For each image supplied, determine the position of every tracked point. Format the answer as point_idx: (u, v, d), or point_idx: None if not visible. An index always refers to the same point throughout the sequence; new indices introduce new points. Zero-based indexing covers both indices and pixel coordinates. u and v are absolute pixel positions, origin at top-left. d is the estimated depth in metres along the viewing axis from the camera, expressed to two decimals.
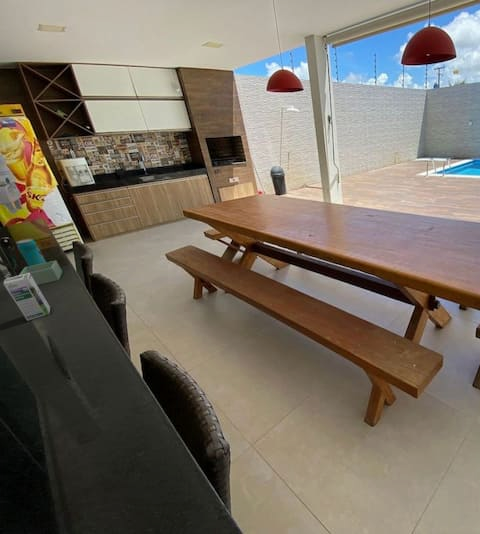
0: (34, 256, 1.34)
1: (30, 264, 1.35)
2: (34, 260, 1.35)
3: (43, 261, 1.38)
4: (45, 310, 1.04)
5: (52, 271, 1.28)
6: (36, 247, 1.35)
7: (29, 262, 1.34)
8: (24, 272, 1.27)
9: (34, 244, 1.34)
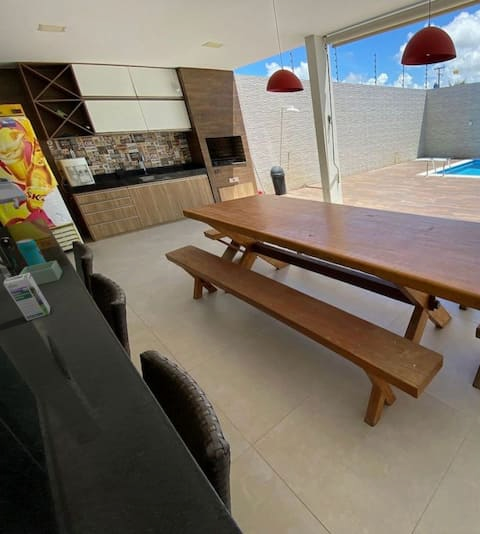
0: (34, 256, 1.34)
1: (30, 264, 1.35)
2: (34, 260, 1.35)
3: (43, 261, 1.38)
4: (45, 310, 1.04)
5: (52, 271, 1.28)
6: (36, 247, 1.35)
7: (29, 262, 1.34)
8: (24, 272, 1.27)
9: (34, 244, 1.34)
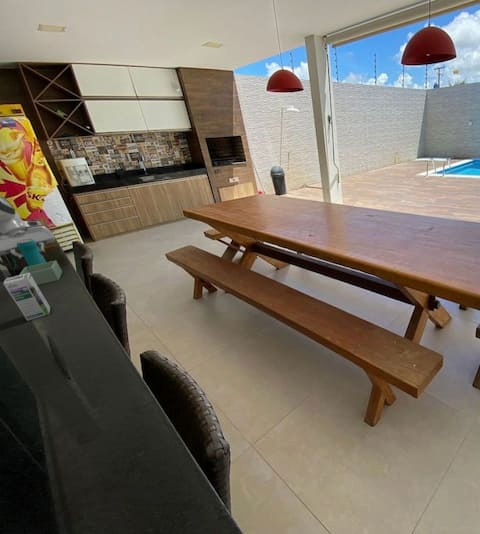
0: (34, 256, 1.35)
1: (30, 264, 1.35)
2: (34, 260, 1.35)
3: (43, 261, 1.38)
4: (45, 310, 1.04)
5: (52, 271, 1.28)
6: (36, 247, 1.35)
7: (29, 262, 1.34)
8: (24, 272, 1.27)
9: (34, 244, 1.34)
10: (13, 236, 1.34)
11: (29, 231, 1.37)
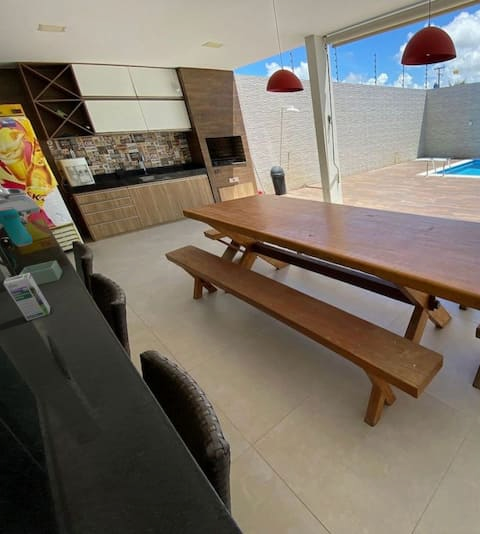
0: (16, 227, 1.21)
1: (11, 235, 1.21)
2: (16, 231, 1.21)
3: (26, 232, 1.24)
4: (45, 310, 1.04)
5: (52, 271, 1.28)
6: (18, 216, 1.22)
7: (10, 233, 1.21)
8: (24, 272, 1.27)
9: (15, 213, 1.21)
10: None
11: (10, 199, 1.24)
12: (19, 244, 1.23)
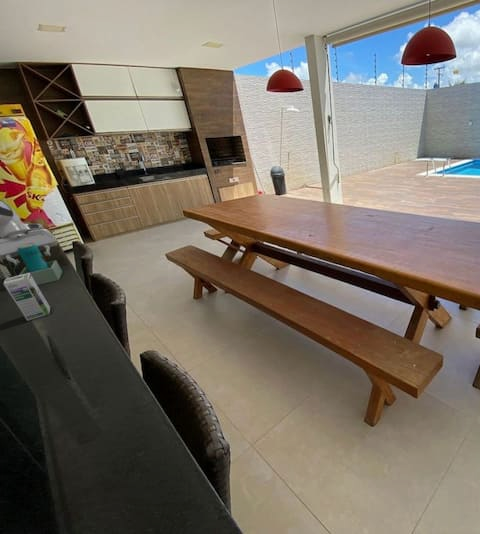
0: (36, 262, 1.26)
1: (32, 270, 1.26)
2: (36, 266, 1.26)
3: (45, 267, 1.29)
4: (45, 310, 1.04)
5: (52, 271, 1.28)
6: (38, 252, 1.27)
7: (31, 268, 1.26)
8: (24, 272, 1.27)
9: (36, 249, 1.26)
10: (13, 240, 1.25)
11: (30, 234, 1.29)
12: None
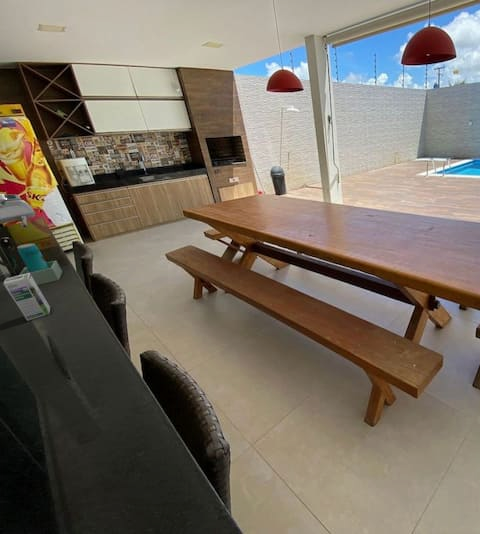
0: (36, 262, 1.26)
1: (32, 270, 1.26)
2: (36, 266, 1.26)
3: (45, 267, 1.29)
4: (45, 310, 1.04)
5: (52, 271, 1.28)
6: (38, 252, 1.27)
7: (31, 268, 1.26)
8: (24, 272, 1.27)
9: (36, 249, 1.26)
10: None
11: (7, 204, 1.30)
12: None
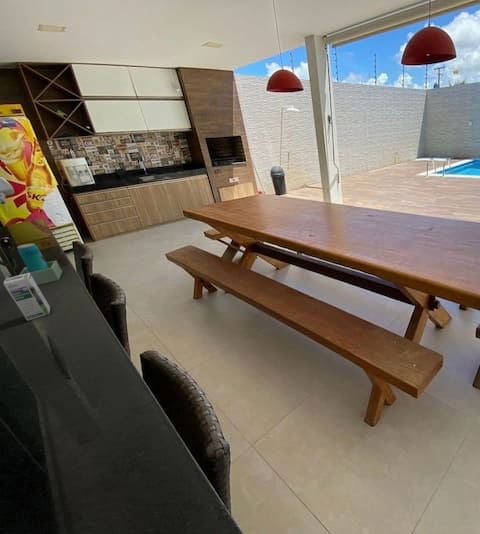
0: (36, 262, 1.26)
1: (32, 270, 1.26)
2: (36, 266, 1.26)
3: (46, 267, 1.29)
4: (45, 310, 1.04)
5: (52, 271, 1.28)
6: (38, 252, 1.27)
7: (31, 268, 1.26)
8: (24, 272, 1.27)
9: (36, 249, 1.26)
10: None
11: None
12: None
